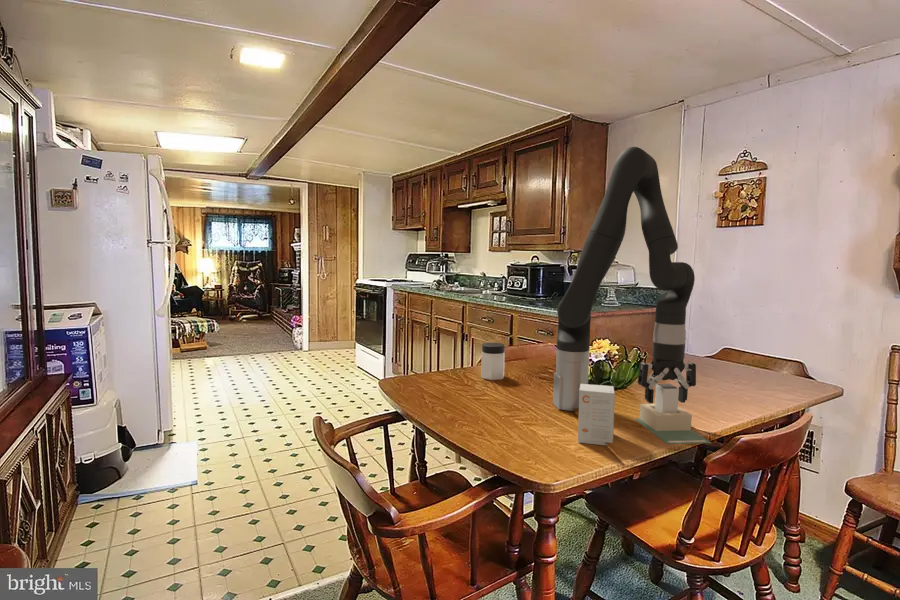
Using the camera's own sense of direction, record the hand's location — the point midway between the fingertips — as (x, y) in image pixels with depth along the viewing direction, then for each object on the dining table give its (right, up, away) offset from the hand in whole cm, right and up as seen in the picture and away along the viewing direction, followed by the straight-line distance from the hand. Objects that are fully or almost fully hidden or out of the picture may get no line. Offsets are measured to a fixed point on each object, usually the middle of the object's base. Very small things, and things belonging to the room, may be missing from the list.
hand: (665, 402), depth 125 cm
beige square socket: (0, -6, +1) cm, 6 cm away
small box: (-21, -8, -8) cm, 23 cm away
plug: (0, -6, +1) cm, 6 cm away
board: (0, -7, -3) cm, 8 cm away
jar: (-40, -2, +50) cm, 64 cm away
